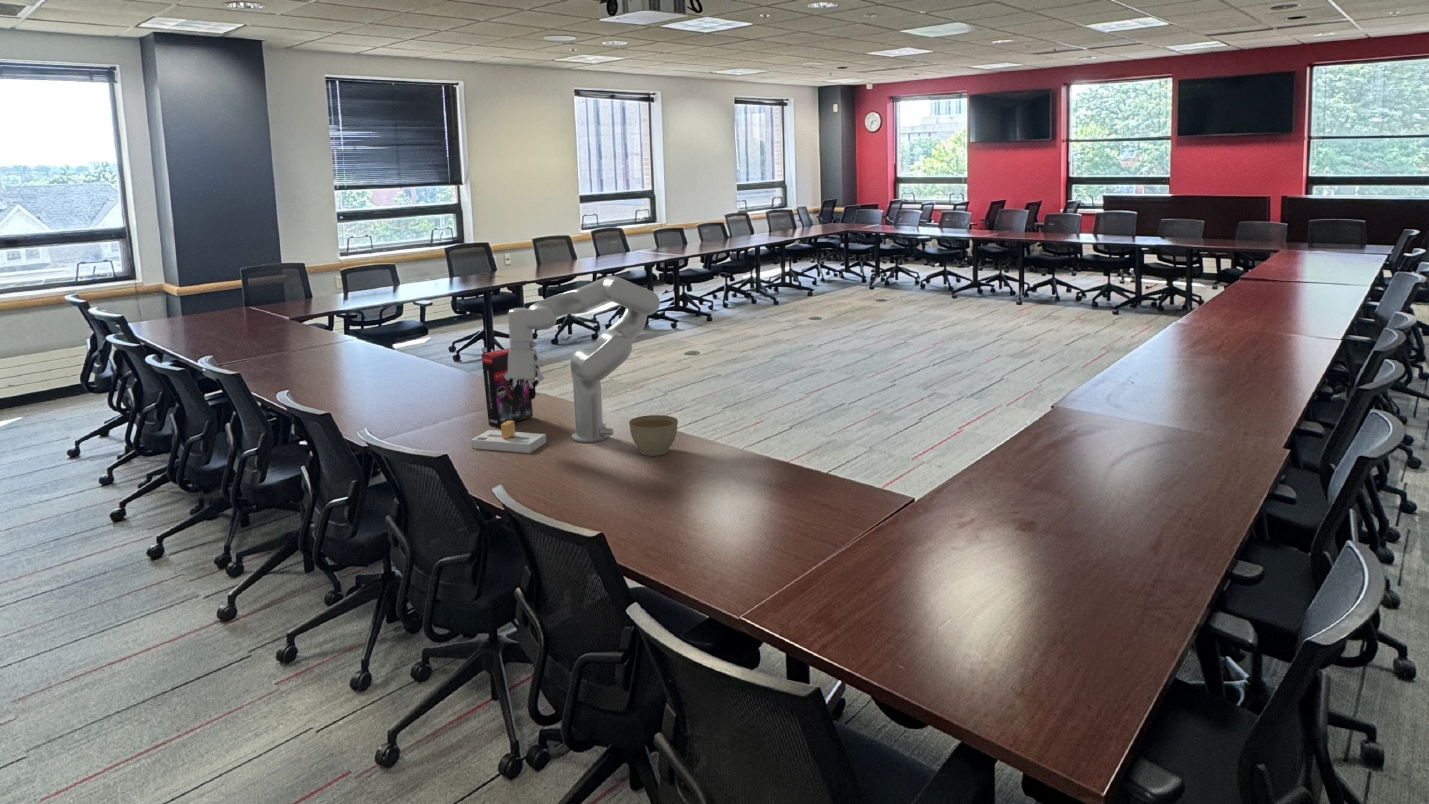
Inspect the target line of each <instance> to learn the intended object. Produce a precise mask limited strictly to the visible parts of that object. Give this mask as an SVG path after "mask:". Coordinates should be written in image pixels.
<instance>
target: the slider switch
mask: <svg viewBox="0 0 1429 804" xmlns="http://www.w3.org/2000/svg"><path fill="white" fill-rule="evenodd" d="M513 437H514V438H502V433H501V430H497V429H496V430H495V429H488V430H485V432H483V433H480V434H479V435H478V436H476V437H473V438H472V439H471V448H472V449H478V450H480V449H481V450H491V451H503V452H504V451H505V452H515V453H527V454H531V453H532V452H534V451H535V450H537V449H538V448H540V447H542V446H543V445H544V444H546V443H547V436H546V433H536V432H534V433H532V432H524V431H523V432H521V431H515V435H513Z"/></svg>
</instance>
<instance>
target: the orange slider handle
mask: <svg viewBox="0 0 1429 804" xmlns="http://www.w3.org/2000/svg"><path fill="white" fill-rule="evenodd" d="M515 423H516V422H514V421H506V422H504V423H503V424H501V427H500V431H501V433H502V438H514V437H513V435H515V432H516V426H515V425H516V424H515Z"/></svg>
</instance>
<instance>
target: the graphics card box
mask: <svg viewBox="0 0 1429 804" xmlns="http://www.w3.org/2000/svg"><path fill="white" fill-rule="evenodd" d="M509 349H510V347H508V348H504V349H498V350H495V351H489V352H485V353H482V354H481V363H482V372H483V382H484V392H485V399H486V400H485V402H486V410H487V412H486V413H487V420H488V425H489V426H493V427H499V428H501V424H503V423H504V422H506V421H514V423H517V422H520V421H524V420H526V419H527V420H528V419H530V418H533V416H534V413H533V403H532V402H533V401H532V400H533V399H532V400H529V392H528V389H529V388H530V386H529V383H528V380H526V379H520V386H521V390H522V397H521V398H519V399H516V396H515V391H514V387H513V386H512V384H511V383H510V382H509V381H508V380H507V379H506V378H505V377H504V376H505V374H506V373H507V371H508V353H509Z"/></svg>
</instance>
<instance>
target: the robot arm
mask: <svg viewBox="0 0 1429 804" xmlns="http://www.w3.org/2000/svg"><path fill="white" fill-rule="evenodd" d="M610 303H616V304H618V305H619V306H623V307H624V308H625V309H624V312H623V315H622V316H621V317H620V318H619V319H618V320H617V321H616V322H614V323H613V324H612V325H611V326H609V327H608V328H607V329H606V330H605V331H603V332H602V333H601V334H600V335H599V336H598V337H597V339H596V341H595V347H596V350H594V351H593V350H591V349H588V348H581V349H578V350H576V351H575V352H574V353H573V354H572V356H571V359H570V363H569V364H570V372H571V373H570V374H571V377H572V384H573V402H574V403H573V404H574V423H575V424H574V425H575V431H574V432H573V433H572V434H571V439H572V440H573V441H574V442H578V443H594V442H596V443H597V442H601V441H603V440H606V439H607V438H608V436H613V435H614V429H613V428H612V427H611V428H610V427H607V426H606V423H603V422H604V421H603V420H604V419H603V402H602V401H603V400H602V399H603V397H602V384H601V383H602V382H601V381H602V380H603V379H605V378H607V377H608V376H609V375H611V374H612V372H614V371H615V370H616V369H618V368H619V367H620V366H622V364H623V363H624V362H626V361H627V360H628V358H629V357H630V355H631V353H632V349H633V343H632V341H634V339H635V338H637V337H638V336H639V335H640V333H641V332H642V331H643V330H644V328H645V326H646V323H647V318H648V316H651V315H653V314H656V312H657V311H658V310H659V308H660V303H661V301H660V297H659V295H658V294H657V292H655V291H653V290H650V289H648V288H645V287H643V286H641V285H638V284H635V283H633V282H631V281H628V280H626V279H624V278H621V277H618V276H615V275H608V276H605V277H602V278H600V279H598V280H597V279H596V280H595V281H592V282H590V283H588V284H585V285H583V286H580V287H578V288H575V289H572V290H568V291H565V292H563V293H558V294H555V295H552V296H549V297H546V298H544V299H542V300H539V301H537V302H534V303H533V304H532V305H530V306H529V307H528V308H527V307H514V308H511V309H509V310H508V312H507V320H508V331H509V332H508V333H509V334H508V336H509V348H510V349H509V353H508V371H507V373H506V374H505V376H504V377H505V378H506V379H507V380H508V381H509V382H510V383H511V384H512V386H513V387H514V391H515V396H516V399H519V398H521V397H522V390H521V386H520V379H526V380H528V383H529V386H530V388H529V389H528V392H529V400H534V399H535V398H536V396H537V395H536V387H537V386H538V385H539V384H540V383H541V382H542V381H543V380H544V379H545V377H544V376H543V374H542V373H541V367H540V360H539V355H538V353H537V352H538V351H537V349H536V348H535V347H537V344H538V343H537V342H534V339H533V337H534V335H533V330H541V331H543V330H549V329H550V330H551V329H552V328H553V327H554V326H555V325H556V323H557V319H558V317H563V316H566V315H580V314H586V313H588V312H590V311H592V310H594V309H595V310H596V309H598V308H599V307H602V306H605V305H606V304H610ZM536 378H537V379H536Z"/></svg>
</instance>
